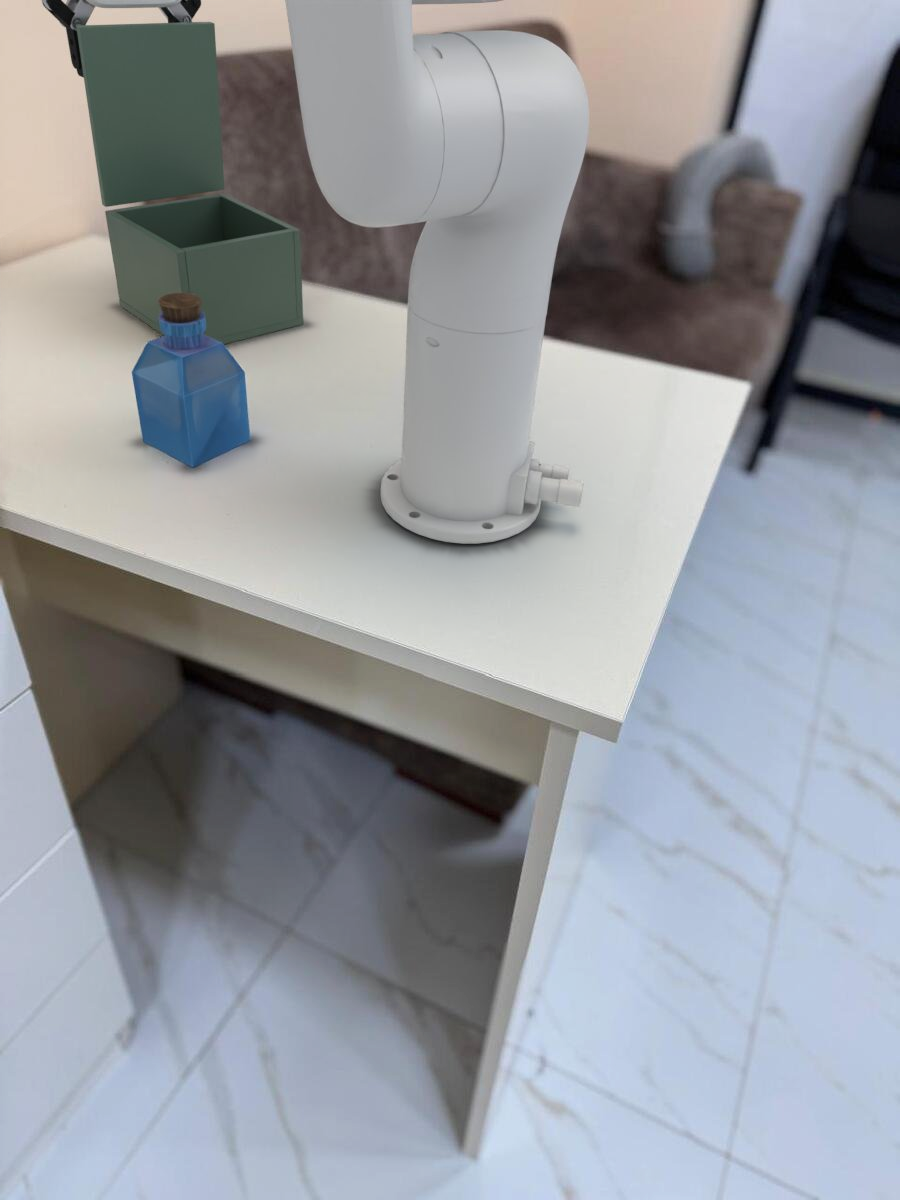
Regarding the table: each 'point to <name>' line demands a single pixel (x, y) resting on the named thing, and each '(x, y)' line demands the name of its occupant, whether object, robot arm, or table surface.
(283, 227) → the chest
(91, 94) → the lid
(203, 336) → the perfume bottle
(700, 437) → the table surface
